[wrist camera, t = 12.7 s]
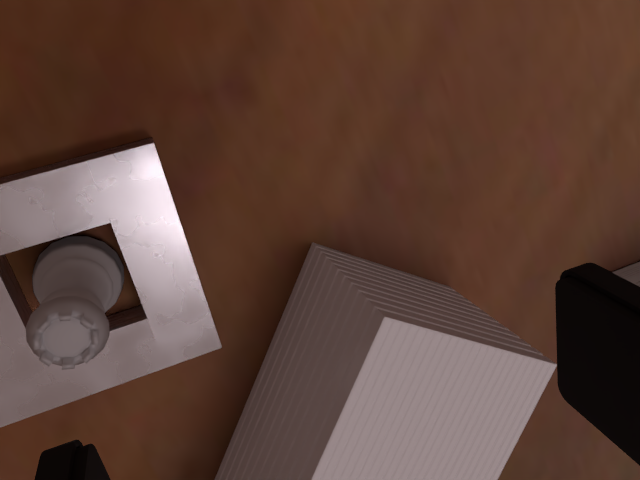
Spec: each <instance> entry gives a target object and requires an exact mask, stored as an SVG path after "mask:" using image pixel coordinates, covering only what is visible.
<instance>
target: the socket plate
mask: <svg viewBox="0 0 640 480" xmlns="http://www.w3.org/2000/svg"><path fill="white" fill-rule="evenodd" d="M108 223H111V225H112V228H113V230H114V233H115V236H116V238H117V241H118V243H119V246H120V249H121V251H122V254H123V256H124V259H125V262H126V264H127V267H128V269H129V272H130V275H131V277H132V280H133V282H134V285H135V288H136V290H137V293H138V295H139V298H140V301H141V303H142V305H140V306H137V307H134V308H131V309H128V310H125V311H122V312H119V313H116V314H113V315H110V316H107V319H108V321H109V333H110V336H109V338H108V340H107V343H106V345H105V347H104V349H103V350H102V351H101V352H100V353H99V354H97V355H96V356H95V357H94V358H93V359H91V360H90V361H89V362H87V363H85V362H84V363H82V364H79V365H75V369H66V370H62V366H60V365H56V364H52V363H51V365H50V366H47V365H46V364H44V363H43V362H41V361H40V360H39V358H40V357H38V356H37V355H35V354H34V353H33V351H32V349H31V348H30V346H29V344H28V343H27V340H26V325H27V323H28V320H29V318H30V316H31V314H32V311H31V309H30V307H29V305H28V303H27V301H26V298H25V296H24V294H23V292H22V290H21V288H20V286H19V284H18V282H17V279H16V277H15V275H14V273H13V271H12V269H11V267H10V265H9V263H8V260H7V258H6V256H5V254H7V253H10V252H14V251H17V250H20V249H24V248H27V247H30V246H34V245H37V244H40V243H44V242H47V241H51V240H54V239H57V238H61V237H64V236H67V235H71V234H74V233H78V232H81V231H84V230H88V229H91V228H94V227H98V226H101V225H104V224H108ZM219 348H222V346H221V343H220V340H219V337H218V334H217V330H216V327H215V324H214V321H213V318H212V315H211V312H210V309H209V306H208V303H207V300H206V297H205V294H204V291H203V288H202V285H201V282H200V279H199V276H198V273H197V270H196V267H195V264H194V261H193V258H192V255H191V252H190V249H189V246H188V243H187V240H186V237H185V234H184V231H183V228H182V225H181V222H180V219H179V216H178V213H177V210H176V207H175V204H174V201H173V198H172V195H171V192H170V189H169V186H168V183H167V180H166V177H165V174H164V171H163V168H162V165H161V162H160V159H159V156H158V153H157V150H156V147H155V144H154V141H153V138H152V137H151V138H147V139H144V140H140V141H136V142H133V143H129V144H125V145H121V146H118V147H114V148H110V149H106V150H103V151H99V152H95V153H92V154H88V155H84V156H80V157H77V158H73V159H69V160H65V161H62V162H58V163H54V164H51V165H47V166H43V167H39V168H36V169H32V170H28V171H24V172H21V173H17V174H13V175H10V176H6V177H2V178H0V427H3V426H6V425H8V424H11V423H14V422H17V421H20V420H22V419H25V418H28V417H31V416H33V415H36V414H39V413H42V412H44V411H47V410H50V409H53V408H56V407H58V406H61V405H64V404H67V403H69V402H72V401H75V400H78V399H81V398H83V397H86V396H89V395H92V394H94V393H97V392H100V391H103V390H105V389H108V388H111V387H114V386H117V385H119V384H122V383H125V382H128V381H130V380H133V379H136V378H139V377H142V376H144V375H147V374H150V373H153V372H155V371H158V370H161V369H164V368H167V367H169V366H172V365H175V364H178V363H180V362H183V361H186V360H189V359H191V358H194V357H197V356H200V355H203V354H205V353H208V352H211V351H214V350H216V349H219Z"/></svg>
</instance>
